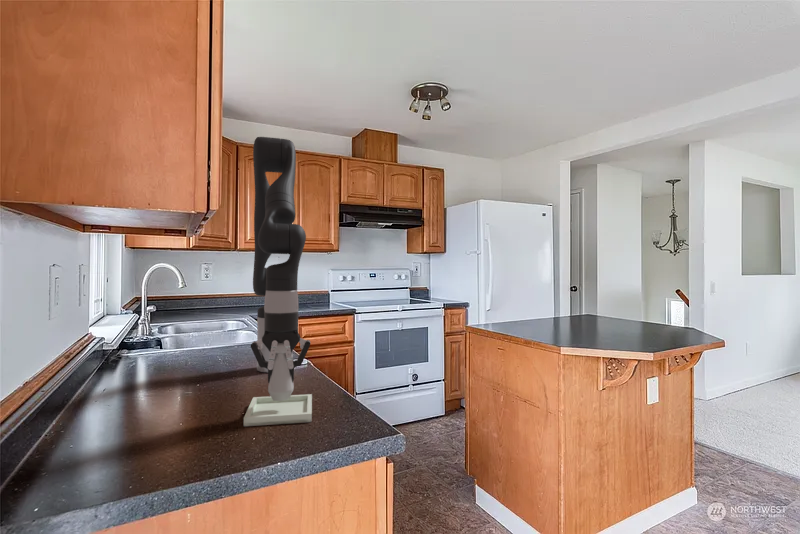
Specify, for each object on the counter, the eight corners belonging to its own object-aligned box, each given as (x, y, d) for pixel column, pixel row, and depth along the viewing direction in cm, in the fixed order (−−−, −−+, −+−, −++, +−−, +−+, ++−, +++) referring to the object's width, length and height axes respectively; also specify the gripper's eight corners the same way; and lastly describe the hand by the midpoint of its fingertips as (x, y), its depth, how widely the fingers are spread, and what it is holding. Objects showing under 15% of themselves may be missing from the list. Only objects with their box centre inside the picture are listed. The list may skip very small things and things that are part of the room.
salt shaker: (286, 403, 92) (286, 344, 92) (262, 401, 93) (263, 343, 93) (298, 395, 98) (298, 340, 98) (275, 393, 99) (276, 339, 99)
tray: (253, 404, 101) (253, 397, 101) (311, 401, 104) (311, 394, 104) (243, 426, 87) (243, 417, 87) (311, 421, 90) (311, 413, 90)
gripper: (312, 308, 100) (312, 379, 100) (252, 308, 98) (251, 381, 98) (312, 311, 93) (312, 387, 93) (246, 312, 90) (246, 391, 90)
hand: (280, 384), depth 95 cm, fingers closed on salt shaker, 3 cm apart
